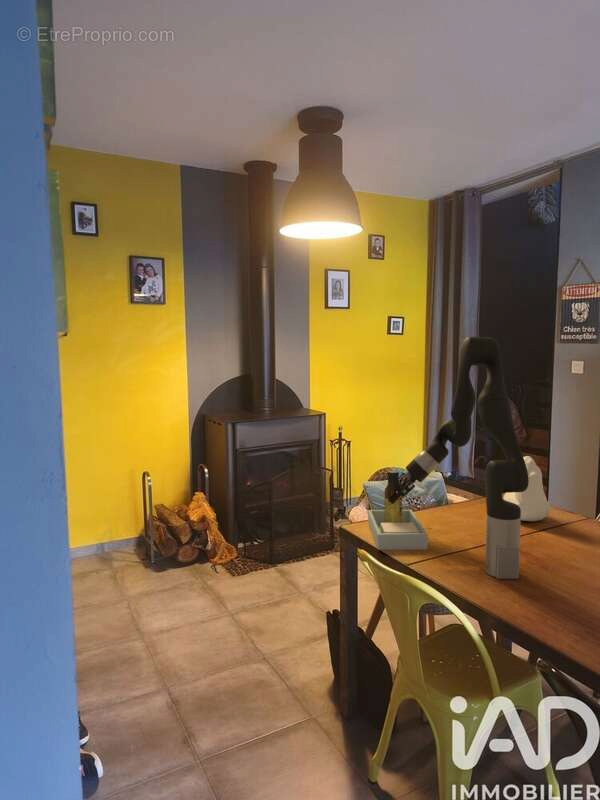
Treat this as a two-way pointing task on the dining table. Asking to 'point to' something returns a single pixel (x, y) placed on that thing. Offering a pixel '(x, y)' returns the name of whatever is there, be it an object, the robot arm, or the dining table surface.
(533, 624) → the dining table surface
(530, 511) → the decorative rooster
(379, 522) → the tote
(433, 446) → the robot arm
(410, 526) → the tan rectangular block
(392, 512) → the sauce bottle
